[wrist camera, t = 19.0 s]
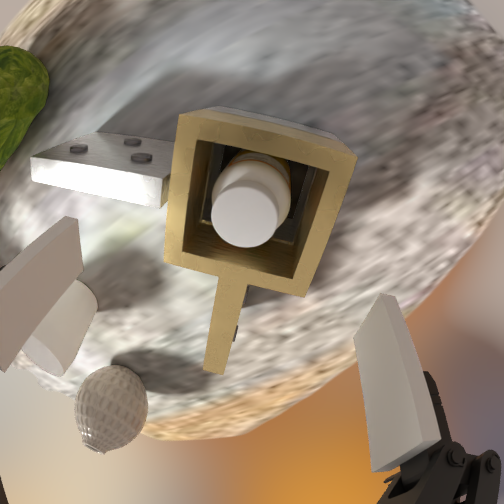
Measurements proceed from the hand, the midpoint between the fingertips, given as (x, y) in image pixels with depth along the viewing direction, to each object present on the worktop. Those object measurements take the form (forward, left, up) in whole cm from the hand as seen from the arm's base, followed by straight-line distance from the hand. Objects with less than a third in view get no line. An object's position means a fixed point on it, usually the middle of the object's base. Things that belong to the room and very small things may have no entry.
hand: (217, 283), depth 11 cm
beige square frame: (0, -6, -16) cm, 17 cm away
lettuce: (-32, +2, -16) cm, 36 cm away
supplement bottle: (0, 0, -16) cm, 16 cm away
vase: (-16, -41, -16) cm, 47 cm away
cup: (-22, -23, -16) cm, 35 cm away
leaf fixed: (-6, 0, -16) cm, 17 cm away
